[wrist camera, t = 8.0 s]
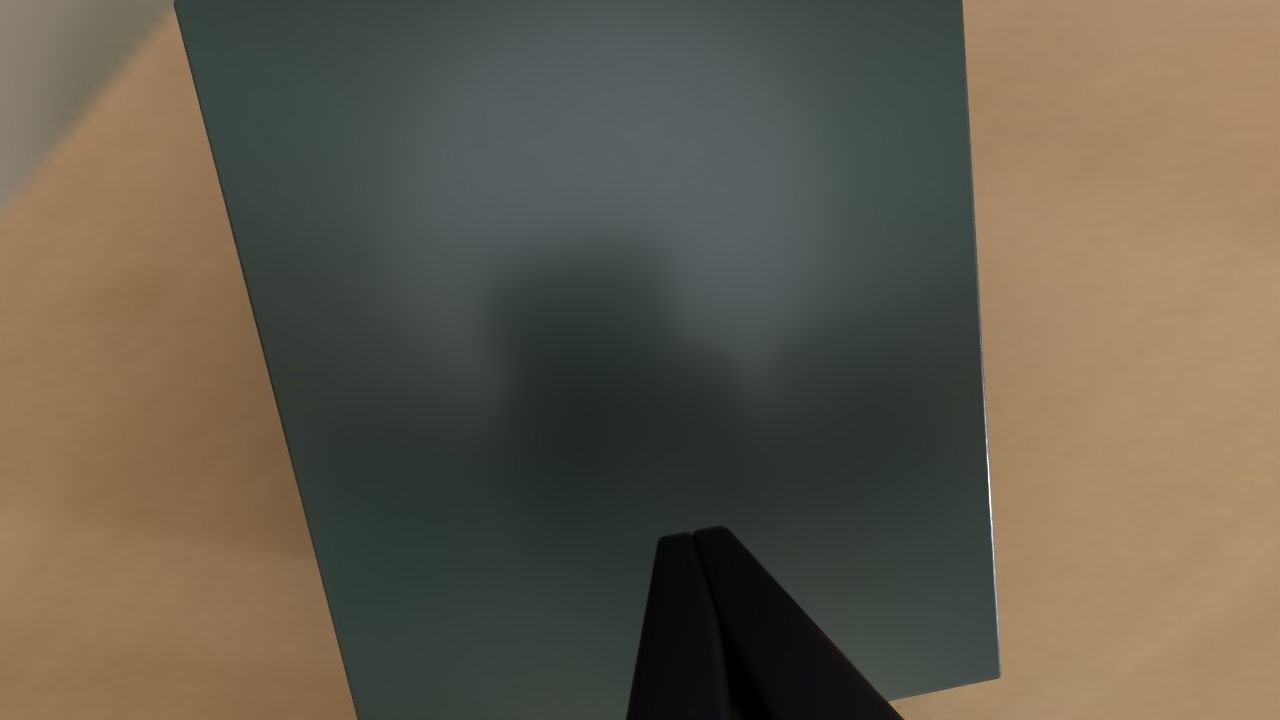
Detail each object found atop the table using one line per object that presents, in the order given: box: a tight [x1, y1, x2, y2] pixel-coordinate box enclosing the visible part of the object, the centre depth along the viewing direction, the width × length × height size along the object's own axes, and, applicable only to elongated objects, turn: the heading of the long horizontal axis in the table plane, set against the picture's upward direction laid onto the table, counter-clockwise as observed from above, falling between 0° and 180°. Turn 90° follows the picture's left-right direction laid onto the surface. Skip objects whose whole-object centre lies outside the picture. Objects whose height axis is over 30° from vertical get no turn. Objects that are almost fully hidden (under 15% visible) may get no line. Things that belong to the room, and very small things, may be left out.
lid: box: [174, 0, 1001, 720], centre depth 13 cm, size 13×12×1 cm
